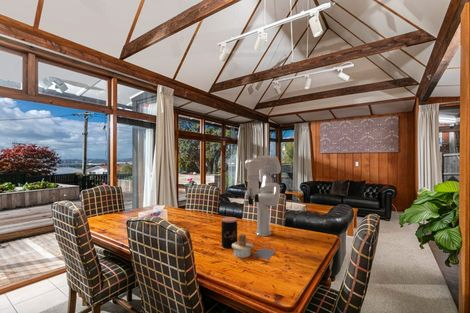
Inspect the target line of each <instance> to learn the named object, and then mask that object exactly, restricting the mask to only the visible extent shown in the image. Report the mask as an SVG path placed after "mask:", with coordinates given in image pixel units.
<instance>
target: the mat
mask: <svg viewBox="0 0 470 313" xmlns="http://www.w3.org/2000/svg"><path fill="white" fill-rule="evenodd" d="M276 252H277V251H276V250H274V249H268V248H264V247H263V248H262V247H261V248H259V249H258V251H256V252H255V253H254V254H253V255H252V257H255V258H260V259H263V260H270V259H271V257H273V255H274V254H275V253H276Z"/></svg>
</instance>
